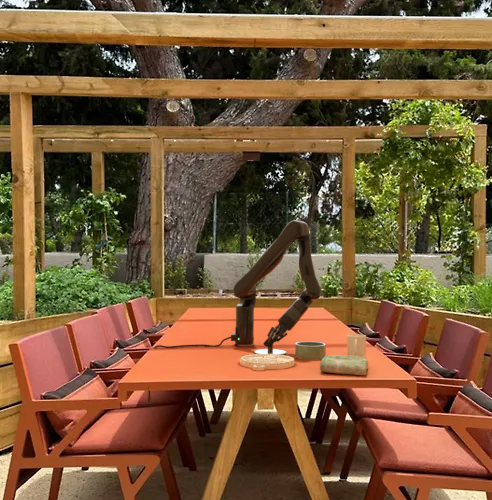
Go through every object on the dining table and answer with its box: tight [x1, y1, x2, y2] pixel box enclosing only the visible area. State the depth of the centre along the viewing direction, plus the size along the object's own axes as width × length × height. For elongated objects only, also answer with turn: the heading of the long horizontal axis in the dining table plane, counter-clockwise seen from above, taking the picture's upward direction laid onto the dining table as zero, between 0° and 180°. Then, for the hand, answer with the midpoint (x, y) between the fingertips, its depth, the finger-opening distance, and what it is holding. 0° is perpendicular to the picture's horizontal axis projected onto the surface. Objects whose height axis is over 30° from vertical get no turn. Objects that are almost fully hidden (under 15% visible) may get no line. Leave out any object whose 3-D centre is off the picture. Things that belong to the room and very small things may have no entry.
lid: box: [253, 336, 287, 355], centre depth 279 cm, size 15×15×8 cm
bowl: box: [294, 341, 327, 361], centre depth 273 cm, size 14×14×6 cm
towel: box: [319, 354, 368, 376], centre depth 245 cm, size 18×21×5 cm
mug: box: [346, 333, 367, 359], centre depth 261 cm, size 12×8×12 cm
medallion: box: [239, 353, 296, 372], centre depth 256 cm, size 24×27×2 cm
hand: (266, 345), depth 278 cm, fingers closed on lid, 2 cm apart
